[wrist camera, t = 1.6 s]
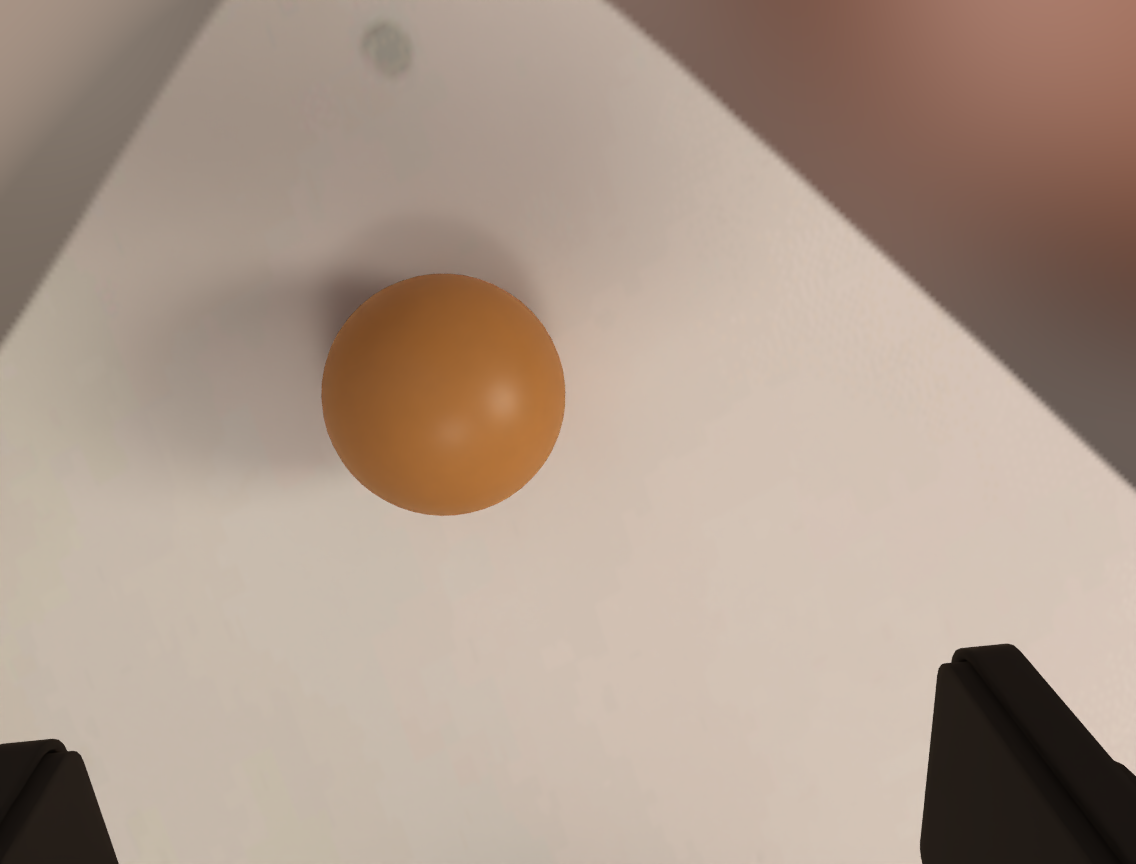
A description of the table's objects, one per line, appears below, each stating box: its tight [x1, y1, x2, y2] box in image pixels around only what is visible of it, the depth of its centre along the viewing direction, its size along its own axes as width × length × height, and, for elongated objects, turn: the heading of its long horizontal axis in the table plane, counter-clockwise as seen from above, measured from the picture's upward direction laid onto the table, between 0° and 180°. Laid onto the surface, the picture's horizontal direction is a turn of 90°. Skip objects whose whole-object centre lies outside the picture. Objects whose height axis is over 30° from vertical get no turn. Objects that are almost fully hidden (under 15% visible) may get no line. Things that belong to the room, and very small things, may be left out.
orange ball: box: [321, 274, 565, 516], centre depth 22 cm, size 6×6×6 cm
